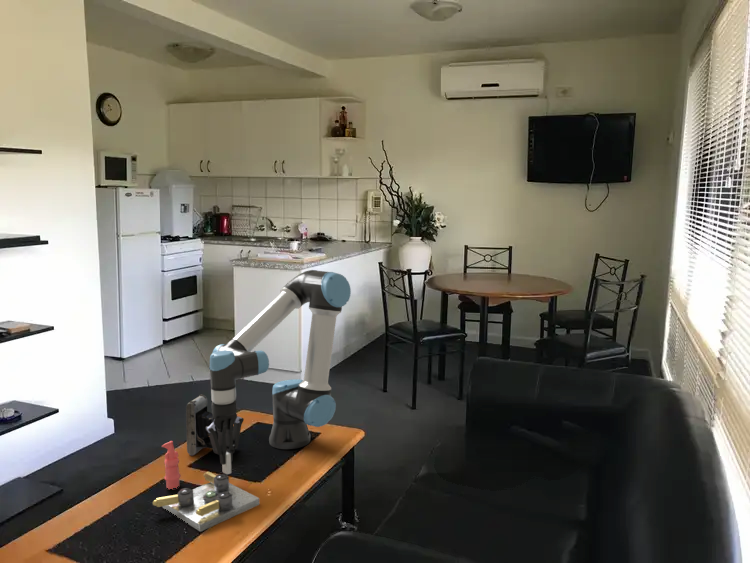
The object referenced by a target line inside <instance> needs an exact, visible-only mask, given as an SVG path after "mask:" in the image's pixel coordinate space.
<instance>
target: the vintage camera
mask: <svg viewBox="0 0 750 563" xmlns="http://www.w3.org/2000/svg"><path fill="white" fill-rule="evenodd" d="M185 411H186V412H185V416H186V417H185V420H186V421H185V423H186V426H185V427H186V430H185V431H186V452H187V454H188V455H189V456H191V457H192V456H196V454H197V453H199V451H201V450H202V449H213V447H212V444H211V440H210V437H209V433H208V432H207V431H206V429H205V427H206V426H208V427H209V426H210V425H211V423H212V419H213V414H212V411H211V412H210V411H208V398H207V396H206V395H204V394H199V396H197V397H196V398H194V399H193V400H190V401H189V402H188V403H187V404H186V406H185ZM215 429H216V430H215V432H216V435H217V438H218V432H217V428H216V427H215Z"/></svg>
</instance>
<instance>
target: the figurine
mask: <svg viewBox="0 0 750 563" xmlns="http://www.w3.org/2000/svg"><path fill="white" fill-rule="evenodd" d="M161 448H165V449H166V450H167V452H166V453H165V455H164V468H165V473H164V474H165V476H164V478H163V479H164V480H165V483H166V485H165V486H166V489H167V488H168V489H167V490H170V489H172V490H174V489H173V488H176V489H178V488H179V487H180V478H181V477H182V476H181V473H180V468H179V463H180V458H179V452H178V451H176V450H175V447H174V441H173V440H170V441H169V442H166V443H164V444H162V445H161ZM178 486H179V487H178ZM177 487H178V488H177Z"/></svg>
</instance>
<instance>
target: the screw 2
mask: <svg viewBox="0 0 750 563" xmlns="http://www.w3.org/2000/svg"><path fill="white" fill-rule="evenodd" d="M203 477H204V479H205V481H208V483H210V482H211V483H213V484H214V490H215V491H225V490H227V489H228V488H229V483H230V478H229V476H228V475H227V474H225V473H219V474H217V475H216V474H214V473H212V472H210V471H206V472H204V473H203Z"/></svg>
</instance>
